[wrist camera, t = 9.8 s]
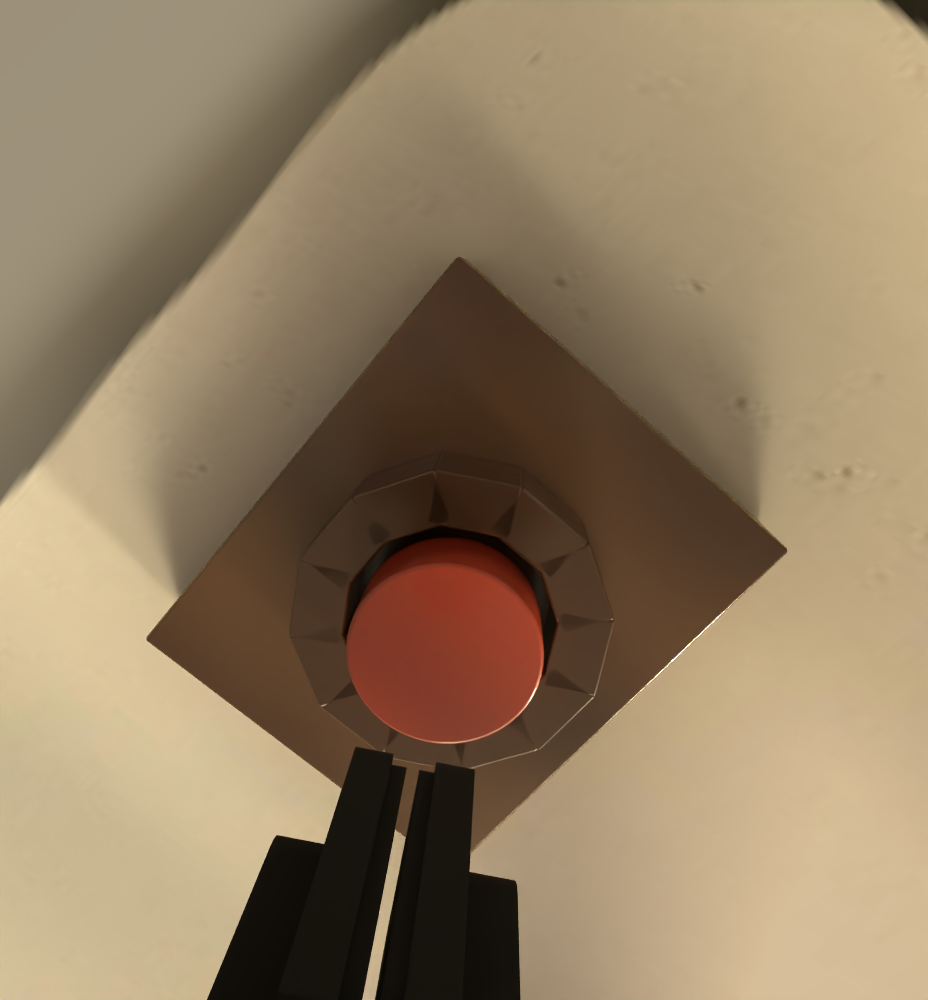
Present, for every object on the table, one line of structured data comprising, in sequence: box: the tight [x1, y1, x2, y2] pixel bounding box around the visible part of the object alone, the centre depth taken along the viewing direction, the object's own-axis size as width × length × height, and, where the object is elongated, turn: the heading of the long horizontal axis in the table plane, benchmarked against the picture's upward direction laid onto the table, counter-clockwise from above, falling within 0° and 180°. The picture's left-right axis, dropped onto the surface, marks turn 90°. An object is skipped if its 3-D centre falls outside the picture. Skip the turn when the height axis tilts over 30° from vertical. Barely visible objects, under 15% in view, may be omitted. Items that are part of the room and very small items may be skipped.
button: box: [346, 537, 544, 744], centre depth 17 cm, size 4×4×2 cm
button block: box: [146, 257, 787, 853], centre depth 19 cm, size 12×10×4 cm
